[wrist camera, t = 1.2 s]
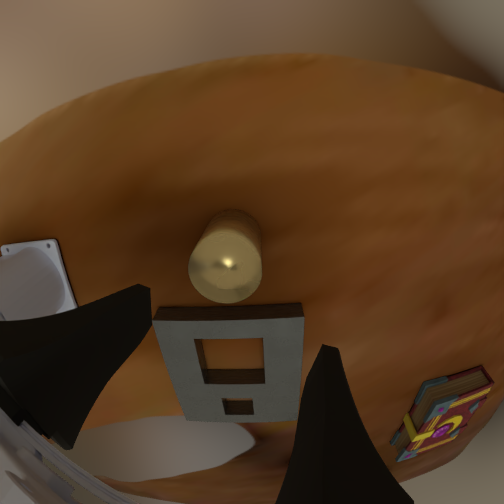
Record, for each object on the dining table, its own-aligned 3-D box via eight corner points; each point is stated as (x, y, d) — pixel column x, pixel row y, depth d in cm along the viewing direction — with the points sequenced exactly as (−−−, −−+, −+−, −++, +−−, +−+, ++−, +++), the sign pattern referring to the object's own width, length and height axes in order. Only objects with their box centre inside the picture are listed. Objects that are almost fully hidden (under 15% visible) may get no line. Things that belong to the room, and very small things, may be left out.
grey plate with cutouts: (189, 407, 28) (186, 420, 27) (158, 307, 23) (151, 320, 21) (295, 406, 28) (297, 420, 26) (301, 302, 23) (304, 316, 21)
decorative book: (482, 361, 27) (498, 384, 23) (441, 427, 33) (451, 447, 28) (421, 380, 28) (436, 408, 23) (386, 444, 33) (394, 467, 29)
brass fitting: (209, 262, 22) (194, 303, 16) (203, 211, 20) (183, 238, 15) (262, 259, 22) (263, 301, 16) (259, 207, 20) (260, 234, 14)
